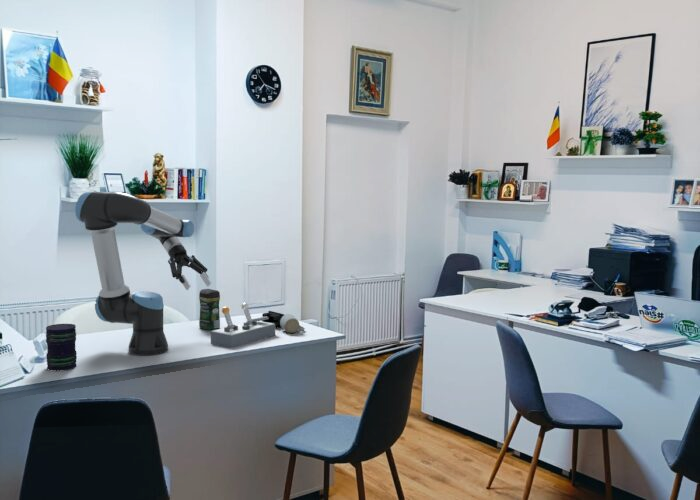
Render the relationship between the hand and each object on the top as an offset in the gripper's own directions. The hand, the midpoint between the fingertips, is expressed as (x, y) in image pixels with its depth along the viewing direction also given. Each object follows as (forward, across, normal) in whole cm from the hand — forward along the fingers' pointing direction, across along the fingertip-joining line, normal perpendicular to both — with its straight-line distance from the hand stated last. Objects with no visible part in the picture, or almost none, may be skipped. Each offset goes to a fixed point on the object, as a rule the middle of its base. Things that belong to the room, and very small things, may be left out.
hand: (199, 286), depth 273 cm
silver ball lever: (+25, -12, +2) cm, 27 cm away
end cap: (+25, -36, -7) cm, 44 cm away
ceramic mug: (+35, -33, +3) cm, 48 cm away
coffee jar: (+10, -14, -22) cm, 28 cm away
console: (+29, -8, -2) cm, 30 cm away
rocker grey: (+24, -19, +2) cm, 31 cm away
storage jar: (+14, +63, -18) cm, 67 cm away
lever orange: (+25, 0, +2) cm, 25 cm away
